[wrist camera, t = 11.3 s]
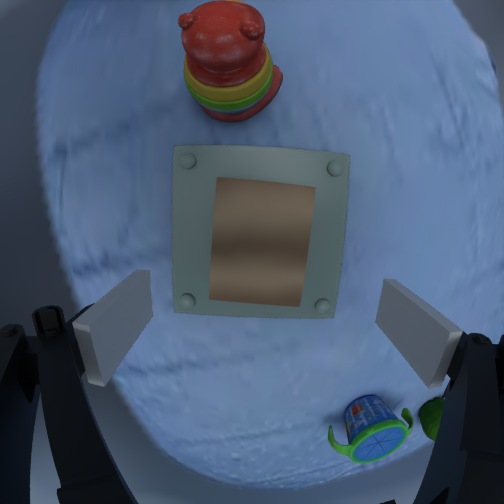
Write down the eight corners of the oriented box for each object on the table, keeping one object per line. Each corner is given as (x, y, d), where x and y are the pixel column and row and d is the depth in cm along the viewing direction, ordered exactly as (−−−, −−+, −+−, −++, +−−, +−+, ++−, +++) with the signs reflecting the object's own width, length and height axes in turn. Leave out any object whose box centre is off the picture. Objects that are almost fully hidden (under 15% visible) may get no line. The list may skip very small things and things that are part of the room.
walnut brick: (222, 178, 33) (216, 177, 27) (304, 187, 33) (315, 187, 27) (215, 281, 36) (208, 299, 30) (292, 288, 36) (299, 307, 30)
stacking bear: (286, 71, 31) (313, -8, 13) (258, 136, 33) (265, 88, 16) (211, 48, 30) (185, -34, 13) (180, 110, 32) (124, 54, 15)
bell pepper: (427, 392, 43) (449, 421, 33) (450, 392, 43) (471, 419, 34) (406, 420, 45) (424, 451, 35) (430, 420, 45) (447, 447, 35)
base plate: (175, 146, 33) (171, 144, 31) (347, 155, 33) (352, 154, 31) (176, 309, 38) (172, 315, 36) (331, 315, 38) (335, 321, 36)
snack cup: (406, 382, 42) (430, 416, 32) (389, 420, 44) (406, 454, 34) (329, 391, 42) (344, 433, 32) (317, 430, 44) (327, 470, 34)
